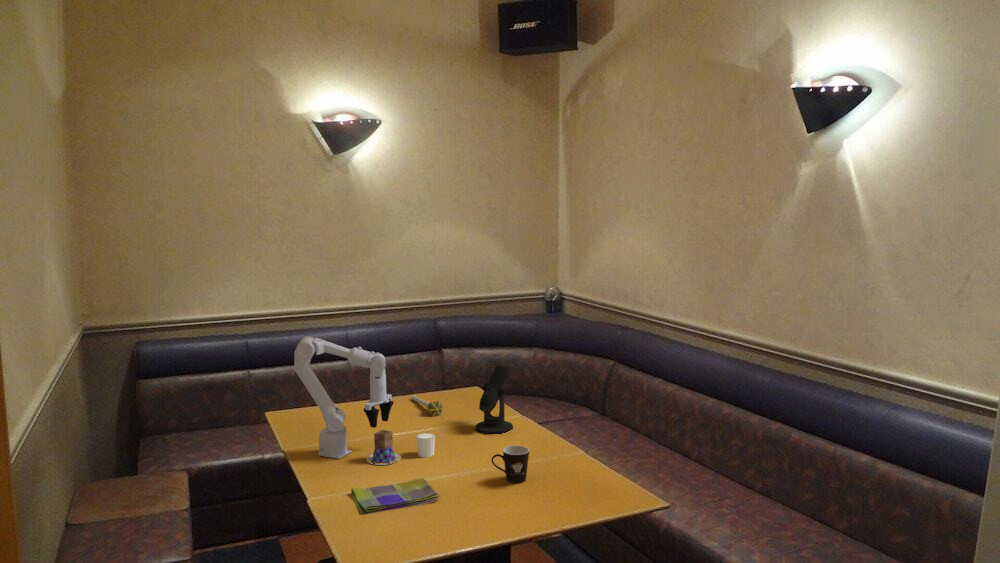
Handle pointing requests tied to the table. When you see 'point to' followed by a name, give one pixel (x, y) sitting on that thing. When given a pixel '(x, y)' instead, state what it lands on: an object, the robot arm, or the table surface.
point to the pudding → (383, 456)
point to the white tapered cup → (425, 444)
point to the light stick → (430, 406)
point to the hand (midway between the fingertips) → (379, 424)
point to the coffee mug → (514, 463)
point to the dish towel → (394, 496)
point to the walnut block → (383, 439)
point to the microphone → (494, 403)
